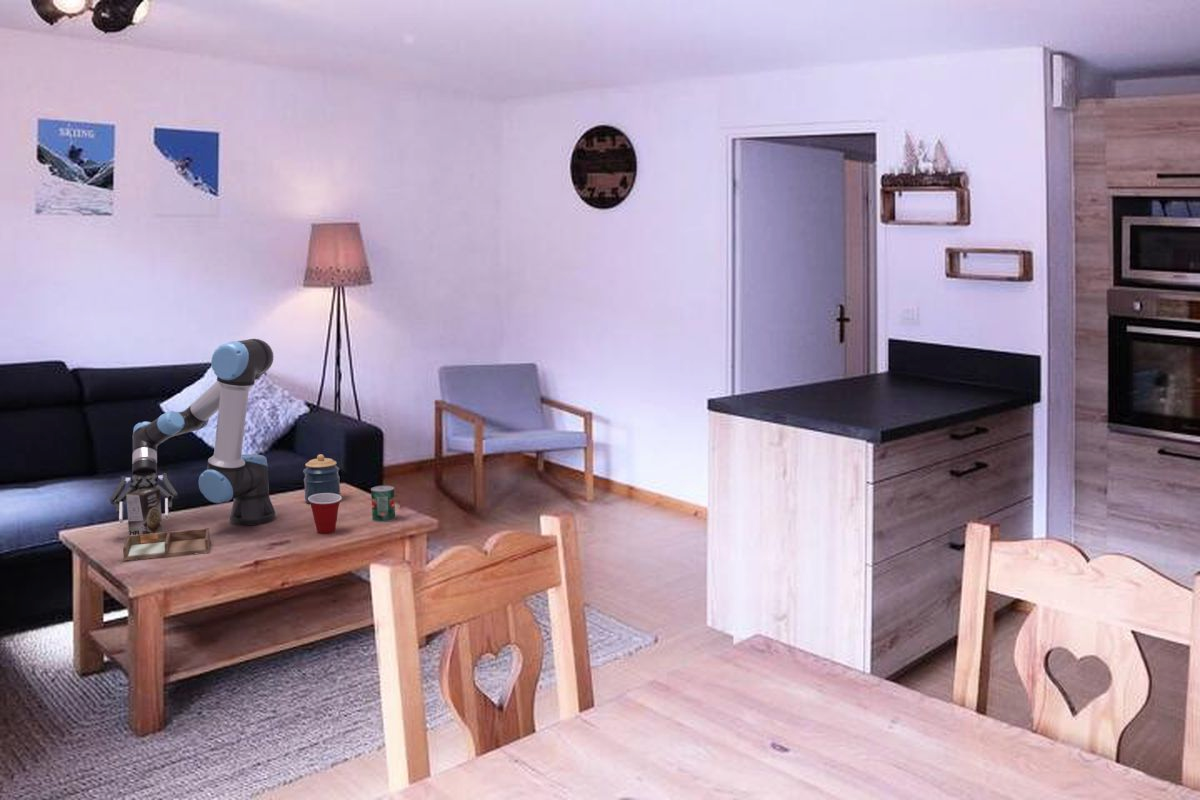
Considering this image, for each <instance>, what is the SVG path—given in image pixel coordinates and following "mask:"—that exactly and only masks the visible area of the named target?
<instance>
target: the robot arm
mask: <svg viewBox="0 0 1200 800" xmlns="http://www.w3.org/2000/svg"><path fill="white" fill-rule="evenodd" d="M210 361H211V363H210V365H211V368H212V370H213V371H214V372H213V373H214V375H215V376H216V381H215V382H214V383H213V384H211V386H210V387H209V388H207V389H206V390H205V392H203V394H201V395H200V396H199V397H198V398H197V399H196V400H194V402H192V403H191V404H190V405H189V406H188V407H187V408H185V409H184V410H182V411H174V410H169V411H167V412H164V413H163V414H161V415H160V416H159V417H157V418H156V419H155V420H153V421H151V422H150V421H142V422H138V423H137V424H135V425H134V427H133V430H132V431H133V432H132V436H131V437H132V457H131V458H132V461H131V462H132V463H131V464H132V465H131V466H132V467H131V470H132V472H131V474H132V475H131V477H126V475H123V476H121V479H120V483H119V484H118V486H117V487H116V488H115V490H114V491H113V493H112V494H111V496H110V498H109V501H110V502H109V503H110V504H111V505H112V506H113V505H115V512H116V514H119V515H118V520H119V523H120V524H124V502H126V501H127V498H126V494H129V493H132V492H135V491H138V490H140V489H143V488H144V489H160V496H162V497H163V498H164V516H165V520H169V512H170V511H169V510H172V509H173V501H174V500H178V499H179V496H178V495H179V494H178V492H177V490H176V489H175V488H174V486H173V485H172V483H171V482H170V480H169V479H168V475H167V473H166V472H164V473H162V474H161V475H158V464H157V463H158V446H159V445H161V444H162V443H164V442H165V441H167V440H168V439H170V438H173V437H175V436H180V435H183V434H187V433H191V432H197V431H199V430H201V429H203V428H206V427H207V425H208V424H209V423H208V422H209V421H210V419H211V417H213V415H215V414H216V413H217V412H218V413H217V421H216V422H217V424H216V429H215V430H216V431H215V439H214V441H215V442H214V451H213V455H212V456H211V457H209V458H208V460H207V468H206V469H205V470H204V471H203V472H202V473H201V474H200V475H199V478H198V488H199V490H200V491H199V492H200V493H201V494H202V495H203V497H204V498H205V499H207V500H208V501H209V502H212V503H214V504H215V503H216V504H220V503H227V502H230V500H233V501H232V506H231V510H230V513H229V523H230V524H232V525H235V526H243V527H244V526H245V527H247V526H257V525H264V524H267V523H270V522H273V521H274V520H276V519H277V518H276V516H277V515H276V510H275V508H274V505H273V502H272V500H271V498H270V489H269V486H270V485H269V471H268V467H269V465H268V461H267V457H266V456H264V455H262V454H251V453H250V454H243V453H242V452H243V442H244V437H245V436H244V433H245V429H246V428H245V427H246V419H247V417H246V416H247V409H248V400H249V392H250V388H252V387H254V385H255V383H256V380H259V379H260V377H262V376H263V375H265V373H266V372H268V371H269V369H270V368H271V367H272V365H273V363H274V352H273V349H272V348H271V346H270V345H269V344H268V343H267V342H266V341H264V340H262V339H259V338H250V339H243V340H235V341H228V342H226V343H223V344H221V345H220V346H218V347H217V348H215V350H214V352H213V354H212V356H211V360H210ZM159 480H160V482H162V483H163V484H164V486H165V488H167V490H168V491H167V490H166V489H164V487H162V486H161V485H160V484H159V483H158V482H159ZM129 483H130V486H129V487H127V489H126V490H125V488H126V486H127V485H128V484H129ZM122 492H123V493H122Z"/></svg>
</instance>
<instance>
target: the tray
mask: <svg viewBox="0 0 1200 800" xmlns="http://www.w3.org/2000/svg"><path fill="white" fill-rule="evenodd" d="M210 537H211V536H210V527H207V528H206V527H205V528H197V529H196V528H195V529H194V528H193V529H184V530H174V531H173V530H172V531H163V532H162V533H151V534H140V535H130V536H129V535H127V536H126V539H125V542H124V545H123V546H122V547H123V548H122V550H123V561H124V562H127V561H126V560H133V561H137V560H136V559H143V560H150V559H149V558H153V559H159V558H158V557H163V558H169V557H168V556H173V557H180V556H179V555H183V556H188V555H187V554H193V555H196V554H195V553H203V554H206V553H205V552H209V553H210V545H209V543H210V544H211V539H210Z"/></svg>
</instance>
